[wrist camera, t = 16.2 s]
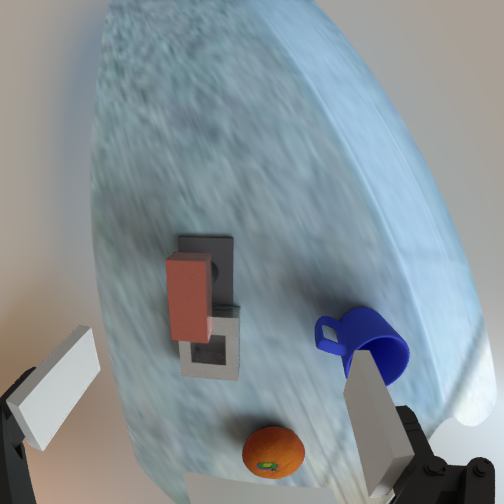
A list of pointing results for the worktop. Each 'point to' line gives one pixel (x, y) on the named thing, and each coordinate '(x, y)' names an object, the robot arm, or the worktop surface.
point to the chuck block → (215, 348)
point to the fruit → (273, 452)
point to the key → (190, 295)
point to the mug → (365, 341)
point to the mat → (221, 257)
